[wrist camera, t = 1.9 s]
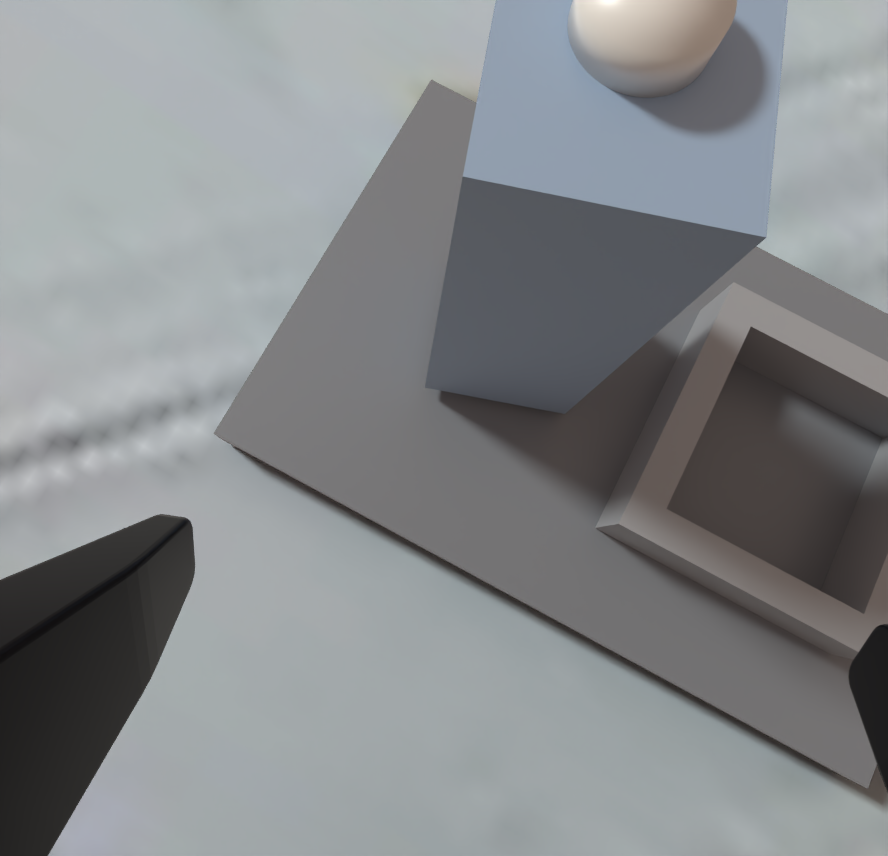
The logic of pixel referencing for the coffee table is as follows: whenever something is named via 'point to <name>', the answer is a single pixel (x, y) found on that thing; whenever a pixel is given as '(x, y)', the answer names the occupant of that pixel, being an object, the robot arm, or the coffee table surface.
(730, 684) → the plate
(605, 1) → the block
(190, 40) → the coffee table surface
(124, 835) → the coffee table surface
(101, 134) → the coffee table surface
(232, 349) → the coffee table surface
